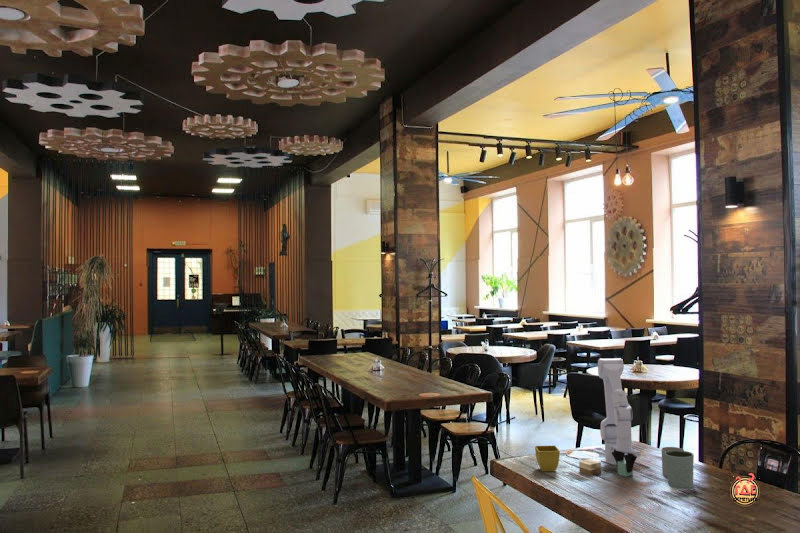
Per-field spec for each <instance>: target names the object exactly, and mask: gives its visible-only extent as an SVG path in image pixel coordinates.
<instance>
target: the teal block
mask: <svg viewBox="0 0 800 533" xmlns="http://www.w3.org/2000/svg"><path fill="white" fill-rule="evenodd" d="M617 464H618V467H617V475H620V476H622V477H631V476H633V473H634V472H633V470H632V472H630V473H628V472H627V468H626V461H625V460H622V461H617Z"/></svg>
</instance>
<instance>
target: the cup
mask: <svg viewBox="0 0 800 533" xmlns="http://www.w3.org/2000/svg"><path fill="white" fill-rule="evenodd" d="M671 450H681V451H685V450H684V449H683V448H681V447H675V446H664V447H661V468H662V469H661V470H662V472H661V473H662V476H664V477H667V478H668V474H667V467H666V460H665V452H666V451H671Z"/></svg>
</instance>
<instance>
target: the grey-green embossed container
mask: <svg viewBox="0 0 800 533" xmlns="http://www.w3.org/2000/svg"><path fill="white" fill-rule="evenodd" d="M694 455H695V454H694V453H693V452H690V451H687V450H684V451H681V450H671V451H666V452H665V460H666V467H667V474H668V477H667V482H668V485H669V486H670V487H671V488H675V489H679V490H687V489H692V488H694V461H695V460H694V459H695V456H694Z"/></svg>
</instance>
